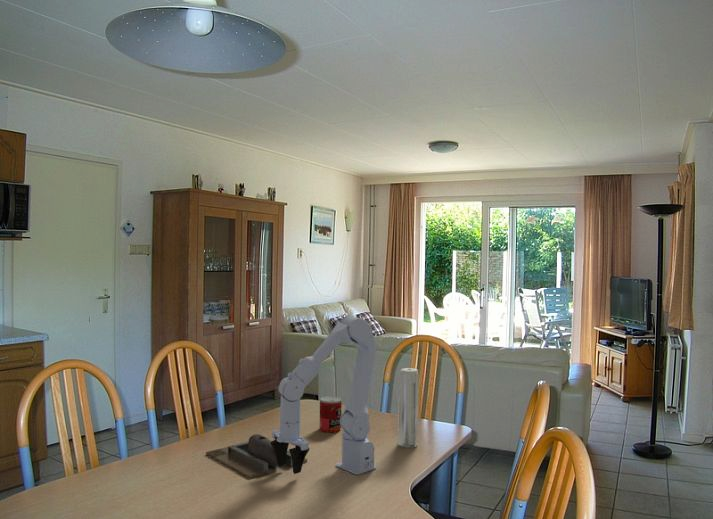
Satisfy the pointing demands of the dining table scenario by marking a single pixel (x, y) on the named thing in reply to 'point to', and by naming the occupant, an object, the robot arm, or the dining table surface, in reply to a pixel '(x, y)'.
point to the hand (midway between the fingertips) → (289, 469)
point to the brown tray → (243, 460)
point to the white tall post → (408, 408)
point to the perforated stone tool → (262, 449)
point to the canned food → (330, 414)
